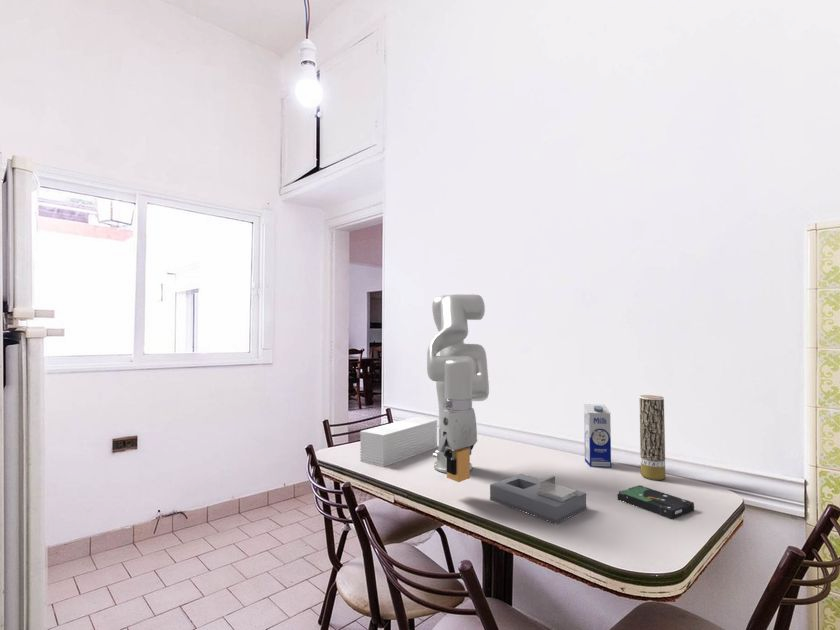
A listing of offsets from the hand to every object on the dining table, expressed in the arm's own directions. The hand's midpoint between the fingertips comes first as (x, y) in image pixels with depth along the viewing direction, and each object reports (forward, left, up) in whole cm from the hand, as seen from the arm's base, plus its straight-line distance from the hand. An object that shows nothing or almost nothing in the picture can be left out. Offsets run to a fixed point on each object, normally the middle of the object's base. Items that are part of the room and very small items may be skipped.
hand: (458, 470), depth 120 cm
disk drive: (+37, +35, -8) cm, 52 cm away
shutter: (+23, +12, -3) cm, 26 cm away
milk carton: (+10, +58, -7) cm, 60 cm away
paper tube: (+28, +58, -7) cm, 65 cm away
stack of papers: (-44, +15, -8) cm, 47 cm away
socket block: (+17, +12, -7) cm, 22 cm away
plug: (0, 0, -2) cm, 2 cm away
